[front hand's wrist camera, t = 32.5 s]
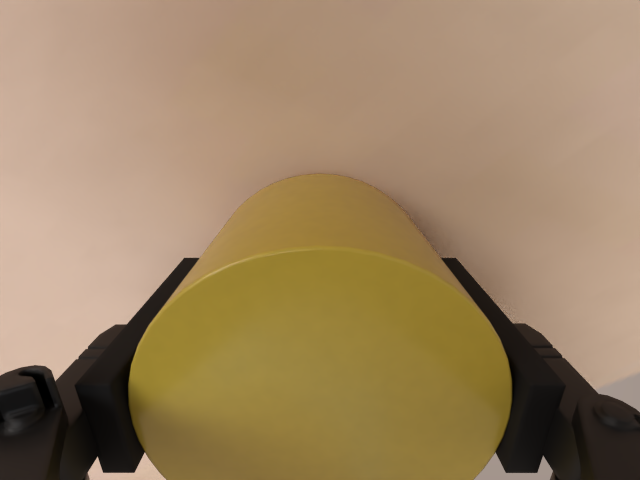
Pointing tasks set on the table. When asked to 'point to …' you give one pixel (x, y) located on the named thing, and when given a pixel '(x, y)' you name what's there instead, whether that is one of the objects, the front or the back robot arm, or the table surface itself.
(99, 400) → the front robot arm
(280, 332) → the tin
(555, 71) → the table surface
